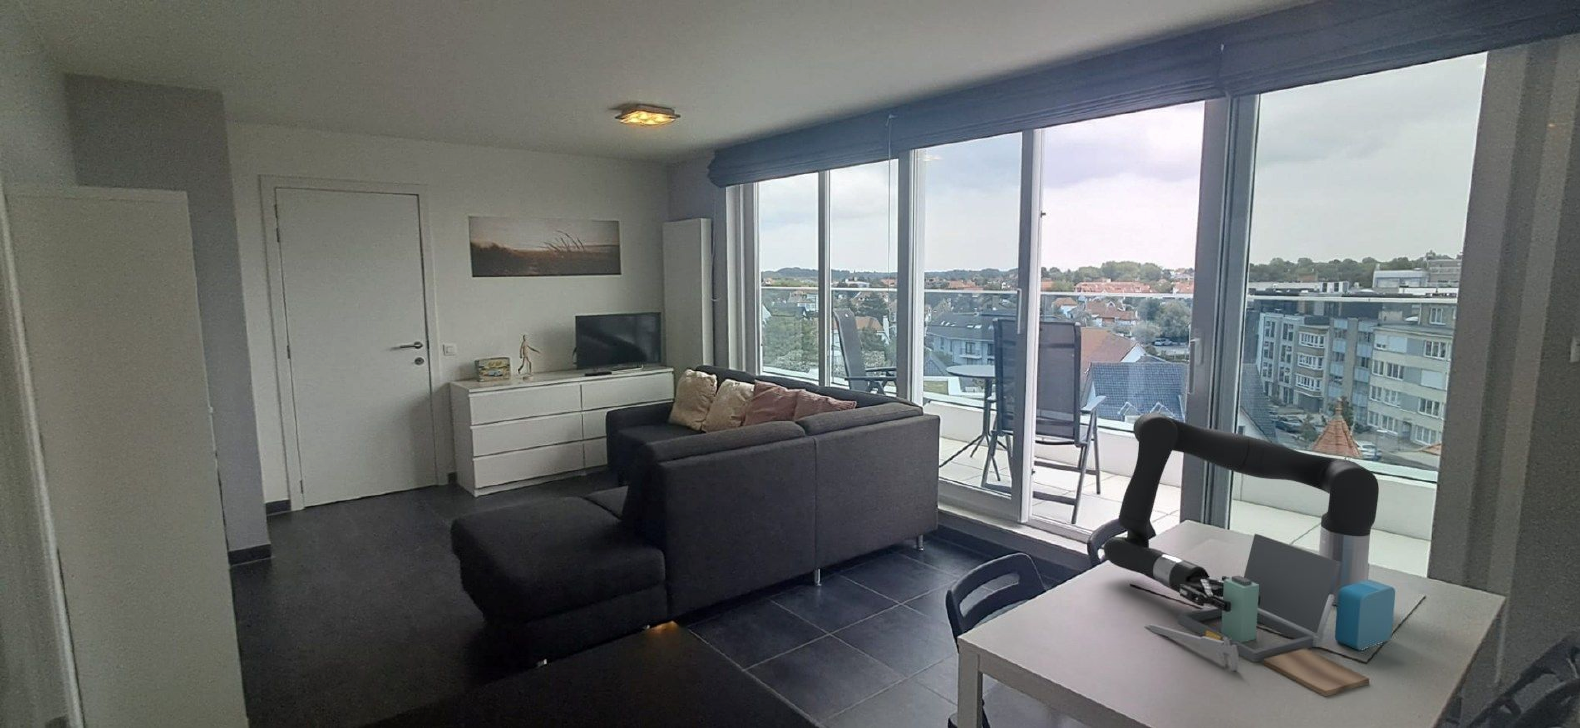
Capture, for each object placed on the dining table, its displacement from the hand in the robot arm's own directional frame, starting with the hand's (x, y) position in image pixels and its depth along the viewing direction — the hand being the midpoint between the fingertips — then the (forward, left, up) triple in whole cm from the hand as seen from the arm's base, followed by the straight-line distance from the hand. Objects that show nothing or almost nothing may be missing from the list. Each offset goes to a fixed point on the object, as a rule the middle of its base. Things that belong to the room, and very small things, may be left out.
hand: (1244, 604), depth 152 cm
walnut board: (0, +15, -8) cm, 17 cm away
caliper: (+14, -1, -8) cm, 16 cm away
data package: (-22, +10, -8) cm, 25 cm away
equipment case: (-5, 0, -8) cm, 9 cm away
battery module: (0, -1, -8) cm, 8 cm away
